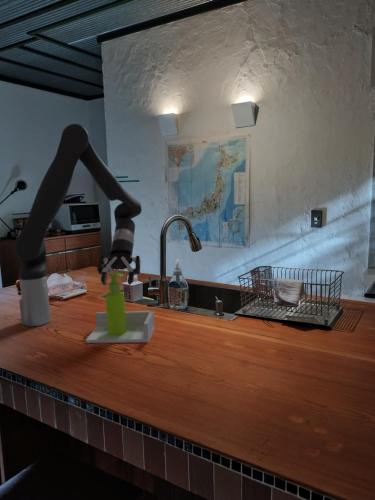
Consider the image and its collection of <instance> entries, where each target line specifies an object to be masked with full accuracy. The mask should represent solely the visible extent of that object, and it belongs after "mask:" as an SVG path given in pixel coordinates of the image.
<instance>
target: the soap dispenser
mask: <svg viewBox="0 0 375 500" xmlns="http://www.w3.org/2000/svg"><path fill="white" fill-rule="evenodd" d="M108 276H110V277H111V278H110V280H111V281H110V282H109V283H108V289H109V291H108V292H107V293H105V302H106V312H107V322H108V334H110V335H122V334H124V333H126V318H125V312H126V306H125V305H126V304H125V303H126V302H125V292H123V291H121V287H120V286H121V285H120V284H121V283H120V282H119V281H118V279H117V278H121V277H124V276H125V274H123V273H120V272H110V273H109V274H108Z"/></svg>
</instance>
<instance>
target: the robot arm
mask: <svg viewBox="0 0 375 500" xmlns="http://www.w3.org/2000/svg"><path fill="white" fill-rule="evenodd" d="M79 161H80V162H81V163H82V164H83V166H85V168H86V169H87V171H88V172H89V174H90V175H91V177H92V179H93V180H94V182H95V183H96V184H97V186H98V187H99V188H100V190H101V191H102V193H103V194H104V195H105V197H106V198H107V200H109V201H111V202H112V201H120V203H118V205H117V206H116V207H115V208H114V211H113V215H114V222H115V227H114V228H115V229H114V234H113V236H112V242H111V247H110V252H109V256H108V257H104V256H103V255H102V256H100V257H99V261H98V264H97V268H96V269H97V273H98V275H101V276H100V282H101V284H102V285H103V286H106V285H107V280H108V276H109V273H113V272H114V271H119V270H120V271H121V270H122V271H124V270H127V272H128V276H127V284H128V285H132V284H133V283H134V277H135V275H139V274H140V273H141V263H142V262H141V258H140V256H139V255H136V256H135V257H133V252H134V251H133V250H134V245H135V229H136V224H135V222H134V220H133V219H134V218H136V217H138V216H140V214H141V213H142V204H141V203H140V201H139V200H138V199H137V198H136V197H135V196H133V194H131V192H129V191H128V190H127V189H126V188H124V186H123V185H122V184H121V183H120V181H119V180H118V179H117V177H116V176H115V174H114V173H113V172H112V170H110V168H109V167H108V166H107V165H106V164H105V162H104V161H103V160H102V159H101V157H100V156H99V154H97V152H96V150H95V148H94V147H93V145H92V143H91V141H90V135H89V132H88V130H87V129H86V128H85V127H84V126H83V125H81V124H79V123H71V124H69V125H67V126H65V127H64V129H62V132H61V136H60V141H59V145H58V147H57V150H56V154H55V155H54V158H53V160H52V163H50V166H49V167H48V169H47V171H46V173H45V174H44V176H43V179H42V181H41V182H40V185H39V188H38V189H37V192H36V195H35V198H34V200H33V204H32V205H31V209H30V211H29V215H28V217H27V220H26V222H25V224H24V225H23V228H22V230H21V231H20V233H19V235H18V237H17V238H16V239H15V241H14V245H13V250H14V253H15V255H16V257H17V258H18V259H20V266H19V271H18V278H19V286H20V296H21V298H20V299H19V301H18V302H19V312H20V320H21V321H20V322H21V325H22V326H26V327H38V326H43V325H46V324H48V323H50V322H51V312H50V311H51V310H50V300H49V289H48V280H47V279H48V276H47V267H48V263H47V250H46V243H45V236H46V234H47V230H48V229H49V227H50V224H51V223H52V222H53V220H55V217H56V216H57V214H58V212H59V211H60V210H61V207H62V205H63V203H64V201H65V199H66V197H67V194H68V192H69V189H70V186H71V184H72V179H73V175H74V171H75V169H76V166H77V164H78V162H79ZM133 263H134V264H135V268H133V267H132V266H131V264H133Z"/></svg>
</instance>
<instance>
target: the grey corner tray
mask: <svg viewBox="0 0 375 500" xmlns="http://www.w3.org/2000/svg"><path fill="white" fill-rule="evenodd" d="M154 313H155V312H154V311H153V310H147V311H146V310H143V311H140V310H138V311H135V310H133V311H125V318H126V333H124V334H122V335H110V334H108V322H107V311H96V312H95V326H96V327H95V328H94V329H93V331H91V333H90V334H89V335H88V336H87V338H86V339H85V344H95V343H96V344H109V343H110V344H112V343H113V344H114V343H116V344H117V343H124V344H125V343H149V342H150V340H151V337H152V335H153V333H154V329H155V318H154V317H155V315H154Z"/></svg>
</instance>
